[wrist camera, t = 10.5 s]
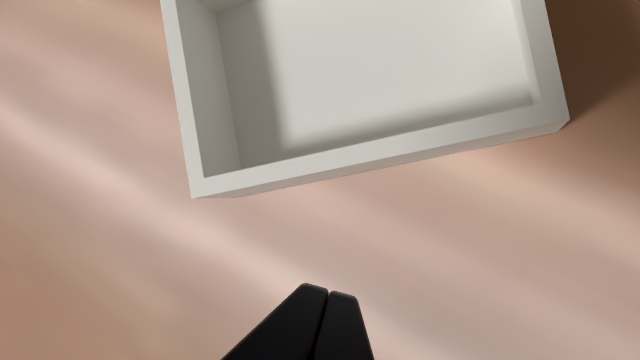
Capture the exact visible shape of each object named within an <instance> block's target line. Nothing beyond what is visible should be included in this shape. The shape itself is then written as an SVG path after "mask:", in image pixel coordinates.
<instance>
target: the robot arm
mask: <svg viewBox="0 0 640 360" xmlns="http://www.w3.org/2000/svg"><path fill="white" fill-rule="evenodd" d="M328 294H329V296H328ZM221 360H374V356H373V353H372V349H371V346H370V342H369V339H368V335H367V332H366V328H365V325H364V321H363V317H362V314H361V310H360V307H359V303H358V301H357V299H356V298H355V297H354V296H352V295H348V294H344V293H341V292H337V291H331V292H330V293H329V292H328V290H327V289H326V288H323V287H319V286H316V285H312V284H308V283H304V284H302V285H300V286H299V287H298V288H297V289H296V290H295V291H294V292H293V293H292V294H290V295H289V296H288V297H287V298H286V299H285V300H284V301H283V302H282V303H281V304H280V305H279V306H278V307H277V308H275V309H274V310H273V311H272V312H271V313H270V314H269V315H268V316H267V317H266V318H265V319H264V320H263V321H261V322H260V323H259V324H258V325H257V326H256V327H255V328H254V329H253V330H252V331H251V332H250V333H249V334H248V335H246V336H245V337H244V338H243V339H242V340H241V341H240V342H239V343H238V344H237V345H236V346H235V347H234V348H233V349H231V350H230V351H229V352H228V353H227V354H226V355H225V356H224V357H223V358H222V359H221Z"/></svg>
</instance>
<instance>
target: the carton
mask: <svg viewBox="0 0 640 360" xmlns="http://www.w3.org/2000/svg"><path fill="white" fill-rule="evenodd" d="M160 4H161V11H162V17H163V23H164V29H165V36H166V42H167V48H168V55H169V61H170V67H171V73H172V80H173V86H174V92H175V98H176V105H177V111H178V117H179V124H180V130H181V136H182V142H183V149H184V155H185V161H186V168H187V174H188V180H189V186H190V193H191V199H200V198H234V197H243V196H248V195H253V194H258V193H263V192H268V191H273V190H277V189H282V188H287V187H292V186H297V185H302V184H307V183H312V182H317V181H322V180H326V179H331V178H336V177H341V176H346V175H351V174H356V173H361V172H366V171H370V170H375V169H380V168H385V167H390V166H395V165H400V164H405V163H410V162H414V161H419V160H424V159H429V158H434V157H439V156H444V155H449V154H454V153H459V152H463V151H468V150H473V149H478V148H483V147H488V146H493V145H498V144H503V143H507V142H512V141H517V140H522V139H527V138H532V137H537V136H542V135H547V134H551V133H556V132H558V131H559V130H560V129H561V128H562V127H563V126H564V125H565V124H566V123H567V122H568V121H569V120H570V116H569V112H568V107H567V103H566V98H565V94H564V89H563V84H562V80H561V75H560V71H559V66H558V61H557V57H556V52H555V48H554V43H553V38H552V34H551V29H550V25H549V20H548V15H547V11H546V6H545V2H544V0H160Z"/></svg>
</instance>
